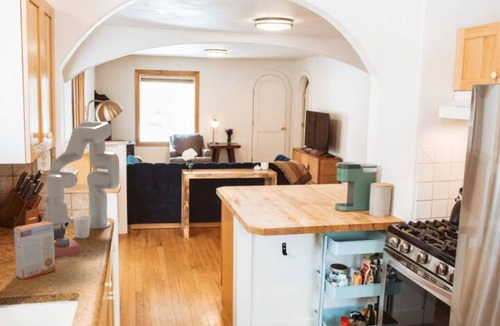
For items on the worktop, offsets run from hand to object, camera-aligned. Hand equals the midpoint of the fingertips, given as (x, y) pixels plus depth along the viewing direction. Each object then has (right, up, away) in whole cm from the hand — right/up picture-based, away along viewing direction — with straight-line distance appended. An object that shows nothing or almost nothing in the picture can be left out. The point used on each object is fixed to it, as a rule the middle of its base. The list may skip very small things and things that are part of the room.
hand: (56, 236), depth 231 cm
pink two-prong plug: (+3, -6, -3) cm, 7 cm away
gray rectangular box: (0, -1, 0) cm, 1 cm away
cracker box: (+5, -10, -34) cm, 36 cm away
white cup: (+6, -3, +19) cm, 20 cm away
